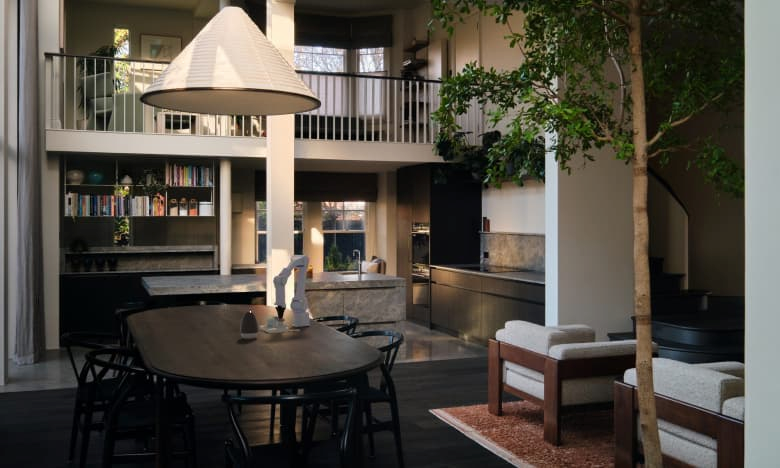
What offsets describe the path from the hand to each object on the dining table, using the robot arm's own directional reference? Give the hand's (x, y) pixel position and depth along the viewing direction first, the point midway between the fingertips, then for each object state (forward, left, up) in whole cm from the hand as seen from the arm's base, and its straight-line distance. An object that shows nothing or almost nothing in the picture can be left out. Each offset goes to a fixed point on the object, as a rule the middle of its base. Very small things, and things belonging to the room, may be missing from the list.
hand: (280, 318), depth 419 cm
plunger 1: (0, -11, -3) cm, 12 cm away
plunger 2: (0, 0, -3) cm, 3 cm away
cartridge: (+4, -6, -6) cm, 9 cm away
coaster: (-7, +4, -8) cm, 11 cm away
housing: (+2, -5, -7) cm, 9 cm away
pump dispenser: (+23, +15, -8) cm, 29 cm away
